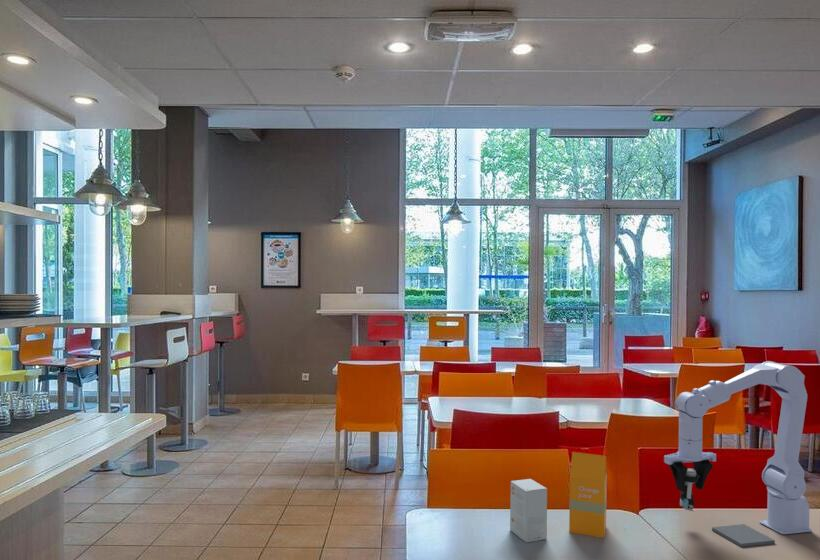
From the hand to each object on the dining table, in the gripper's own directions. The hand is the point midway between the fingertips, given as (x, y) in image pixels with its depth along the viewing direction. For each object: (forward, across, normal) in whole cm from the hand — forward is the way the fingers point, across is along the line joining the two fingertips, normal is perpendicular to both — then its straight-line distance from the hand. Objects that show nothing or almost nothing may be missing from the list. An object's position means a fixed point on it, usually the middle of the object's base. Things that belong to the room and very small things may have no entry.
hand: (689, 489), depth 159 cm
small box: (+11, +44, -5) cm, 46 cm away
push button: (+5, 0, 0) cm, 5 cm away
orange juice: (+11, +27, -5) cm, 29 cm away
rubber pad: (+10, -10, +8) cm, 16 cm away
